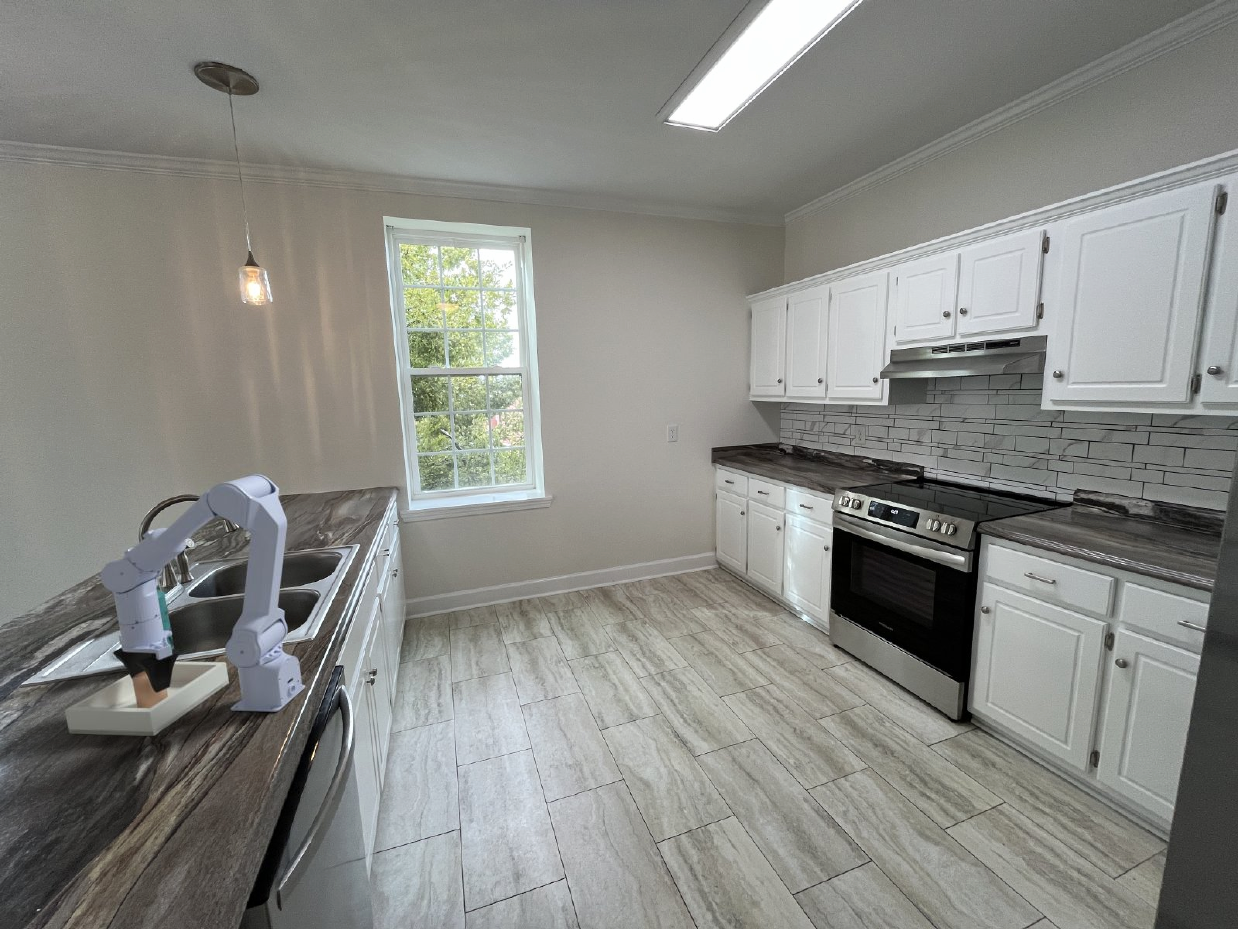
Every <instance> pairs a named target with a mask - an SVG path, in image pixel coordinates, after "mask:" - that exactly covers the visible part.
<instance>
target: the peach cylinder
mask: <svg viewBox="0 0 1238 929" xmlns="http://www.w3.org/2000/svg"><path fill="white" fill-rule="evenodd" d="M132 681H133V686H134V692H135V697H136V703H137V708H151V707H153V706H154V705H156V704H158V703H159V702H161V701H162V700H164V699H165V698H167V697H168V693H167V689H164V690H162V691H160V692H158V693H156V692H155V691H154V690H153V688H152V686H151V684H150V681H149V678H148V676H147V674H146V673H145V671H143V672H141V673H139V674H137V675H135V676H134V677H133V678H132Z"/></svg>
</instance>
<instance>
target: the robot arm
mask: <svg viewBox="0 0 1238 929" xmlns="http://www.w3.org/2000/svg"><path fill="white" fill-rule="evenodd" d="M279 494H280V488H279V487H278V486H277V485H276V484H275V483H274V482H273V481H272V480H270V478H268V477H267V476H265V475H263V474H260V473H259V474H258V473H257V474H256V473H254V474H252V473H251V474H249V475H246V476H245V477H241V478H236V479H234V480H230V481H224V482H219V483H216V484H215V485H213V486H212V487H211V488H210V490H207V491H206V492H204V493H202V494H201V495H200V497H199V499H197V500H196V501H195V502H194V503H193V504H192V505H191V506H190V507H189V508H188V509H186V511H184V512H183V513H182V514H181V516H179V517H178V518H177V519H175V521H174V522H173V523H171V525H170V526H169V527H158V528H156V529H151V530H147V531H146V532H145V533H144V534H142V538H144V539H142V540H141V541H140V542H139V543H137V544H136V545H135V546H134V547H130V548H128V549H126V550H125V551H124V556H123V557H122V558H121V559H118V560H113V561H110V562H107V563H106V564H105V566H104V567H103V568H102V570H101V572H100V575H99V576H100V581H101V583H102V585H103V586H104V587H105V588H106V589H107V590H109V591H110V592H112V593H113V597H114V598H113V599H114V604H115V609H116V615H117V621H118V626H119V630H120V634H118V640H119V644H120V645H121V648H117V649H115V650H114V651H112V654H113V656H114V657H116V658H117V659H118V660H119V661H120V662H121V663H122V664H123V666H124V667H125V670H126V671H127V673H128V675H130V677H131V678H133V677H134V676H135V675H137V674H139V673H141V672H143V671H145V673H146V674H147V676H148V678H149V681H150V684H151V686H152V688H153V690H154V691H155V692H156V693H158V692H160V691H162V690H164V689H167V688H169V687H170V683H171V676H172V671H173V667H174V664H175V662H177V659H178V657H179V655H180V650H179V649H177V648H174V649H173V650H171V645H169V644H168V643H167V637H168V636H171V635H172V636H173V631H172V630H171V631H169V630H165V631H164V630H163V624H162V619H161V613H160V607H159V601H158V595H157V588H158V586H159V581H158V579H159V577H160V575H161V574H162V572H163V568H164V567H166V565H169V563H170V562H172V561H173V560H174V559H175V558H176V557H177V556H178V555H180V554H181V553H183V551H185V550H186V547H187V541H186V540H187V539H188V538H189V537H191V536H193V534H195V533H196V532H197V531H198V530H200V529H201V528H202V527H204V526H205V525H206V524H208V523H209V522H210V521H212V520H213V519H215V518H217V517H219V516H220V517H221V518H223V519H226V520H227V521H229V522H231V523H233V524H235V525H237V526H239V527H241V528H243V529H245V530H246V531H247V532H248V533H250V540H249V550H248V559H247V560H248V561H247V567H246V568H247V569H246V579H245V586H244V595H243V596H244V597H243V605H242V612H241V615H240V617H239V618H238V620H237V621H236V623H235V625H234V626H233V628H232V633H231V634H232V635H231V637H230V639H229V640H228V641H227V643H226V645H225V648H224V654H225V657H226V658H227V660H228V662H230V663H231V664H233V665H234V666H235V668H237V672H238V679H239V686H240V688H239V689H240V692H241V693H240V694H241V700H239V701H238V702H236V703H235V704H234V705H233V706H231V707H230V710H231V711H234V712H235V711H236V712H238V711H240V712H241V711H242V712H279V711H280V710H281V709H282V708H284V707H285V706H286V705H287V704H288V703H289V702H290V701H291V700H293V699H294V698H295V697H296V696H298V694H300V693H301V692H302V691H303V690H304V689H305V688H306V685H305V684H303V683H302V682H303V681H302V674H301V664H300V661H299V659H298V657H297V656H295V655H290V654H288V653H285V652H284V651H283V646H284V645H283V640H284V639H285V638H286V637H287V634H288V629H289V628H288V624H287V622H286V620H285V610H283V609H282V608H279V599H280V598H279V597H280V589H281V588H280V587H281V581H282V574H283V573H282V572H283V564H284V555H285V548H286V547H285V546H286V538H287V530H288V520H287V517H286V514H285V511H284V510H283V509H284V508H283V506H282V503H281V501H280V499H279V496H280V495H279ZM151 653H152V654H151ZM150 655H151V657H150Z"/></svg>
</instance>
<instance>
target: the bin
mask: <svg viewBox="0 0 1238 929" xmlns="http://www.w3.org/2000/svg"><path fill="white" fill-rule="evenodd" d="M228 673H229V672H228V668H227V663H226V662H223V661H221V662H220V661H218V662H217V661H215V662H214V661H175V664H174V667H173V671H172V676H171V683H170V687H169V688H167V693H168V697H167V698H165V699H164V700H162V701H161V702H159V703H158V704H156V705H154V706H153V707H151V708H137V703H136V697H135V692H134V686H133V681H132V678H131V677H130V675H129V674H128V675H125V676H124V677H122V678H120V679H118V680H117V681H115V682H113V683H111V684H109V685H107V686H106V687H104V688H102V689H100V690H98V691H96V692H95V693H92V694H91V695H88V697H86V698H84V699H82V700H80V701H79V702H77V703H75V704H73V705H71V706H69V707H67V708H65V709H64V713H65V718H66V722H67V728H68V733H69V734H72V735H73V734H77V735H107V736H108V735H109V736H111V735H112V736H115V735H116V736H142V737H143V736H144V737H145V736H147V737H154V736H156V735H157V734H159V733H160V732H161V731H164V729H166V728H167V727H169V726H170V725H172V724H173V723H174V722H176V721H177V720H179V719H181V717H183V716H184V715H186V714H187V713H188V712H190V711H192V710H193V709H194V708H195V707H197V706H199V705H200V704H201V703H202V702H205V700H208V699H209V698H210V697H212V696H213V695H214V694H215V693H217V692H219V690H221V689H223V688H224V687H225V686H227V685H228V684H230V682H229V675H228Z"/></svg>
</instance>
